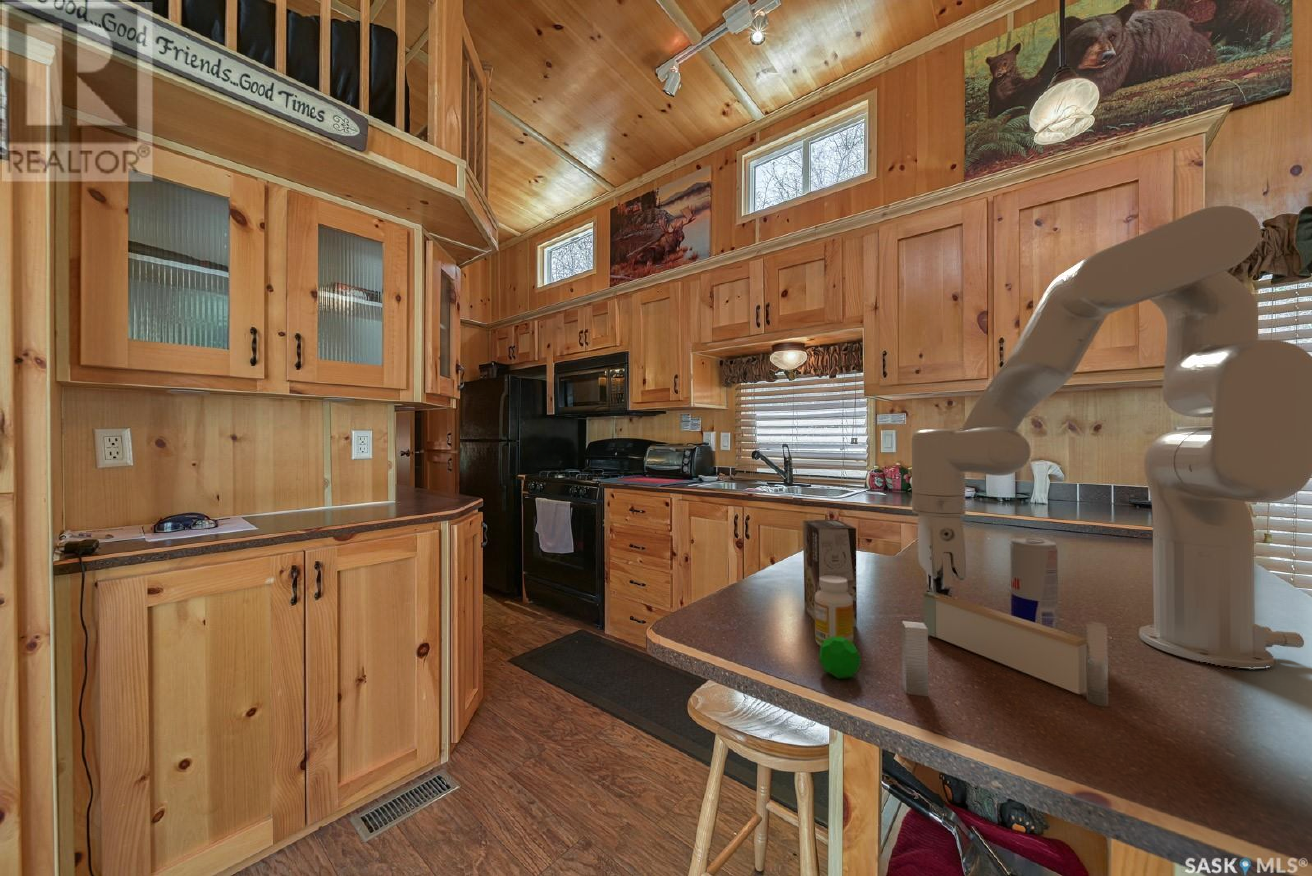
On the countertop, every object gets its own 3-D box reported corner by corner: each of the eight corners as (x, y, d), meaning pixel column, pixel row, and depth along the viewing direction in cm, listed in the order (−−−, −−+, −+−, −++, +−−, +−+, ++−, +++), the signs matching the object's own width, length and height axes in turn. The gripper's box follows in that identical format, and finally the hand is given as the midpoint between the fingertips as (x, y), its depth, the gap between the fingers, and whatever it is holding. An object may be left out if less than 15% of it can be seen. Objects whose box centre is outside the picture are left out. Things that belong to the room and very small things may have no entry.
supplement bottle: (854, 639, 74) (853, 575, 74) (852, 654, 69) (851, 586, 69) (817, 634, 76) (816, 572, 76) (812, 647, 71) (812, 581, 71)
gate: (1087, 691, 57) (1086, 638, 57) (1077, 694, 57) (1077, 641, 57) (933, 630, 75) (932, 591, 75) (924, 632, 75) (923, 592, 75)
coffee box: (858, 627, 78) (857, 528, 78) (818, 627, 78) (817, 528, 78) (838, 607, 87) (837, 518, 87) (802, 607, 87) (802, 518, 87)
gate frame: (1099, 698, 57) (1098, 621, 57) (1115, 709, 54) (1114, 628, 54) (900, 685, 60) (899, 612, 60) (907, 695, 58) (906, 619, 58)
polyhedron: (831, 663, 66) (831, 628, 66) (867, 676, 62) (866, 639, 62) (812, 675, 63) (811, 638, 63) (848, 689, 59) (847, 650, 59)
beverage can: (1048, 634, 74) (1047, 537, 74) (1065, 650, 69) (1064, 545, 69) (1005, 630, 76) (1004, 535, 76) (1019, 645, 71) (1018, 543, 71)
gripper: (981, 512, 70) (982, 638, 71) (950, 499, 85) (951, 603, 85) (923, 510, 73) (925, 632, 73) (903, 498, 87) (904, 600, 87)
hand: (939, 616), depth 79 cm, fingers closed
